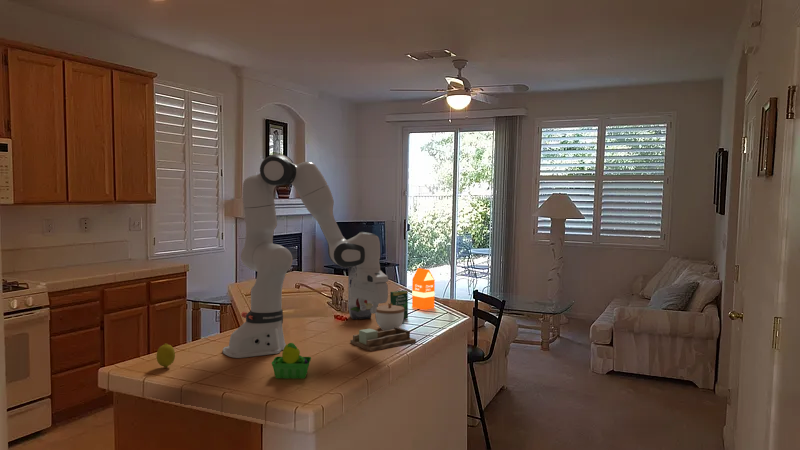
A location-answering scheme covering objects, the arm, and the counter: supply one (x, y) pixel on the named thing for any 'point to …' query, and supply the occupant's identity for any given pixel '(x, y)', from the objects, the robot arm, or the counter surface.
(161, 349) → the lemon
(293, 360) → the fruit basket
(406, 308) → the coffee box
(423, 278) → the orange juice
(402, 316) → the lidded bowl
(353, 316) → the juice carton
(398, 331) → the board
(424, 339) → the counter surface
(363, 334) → the block
